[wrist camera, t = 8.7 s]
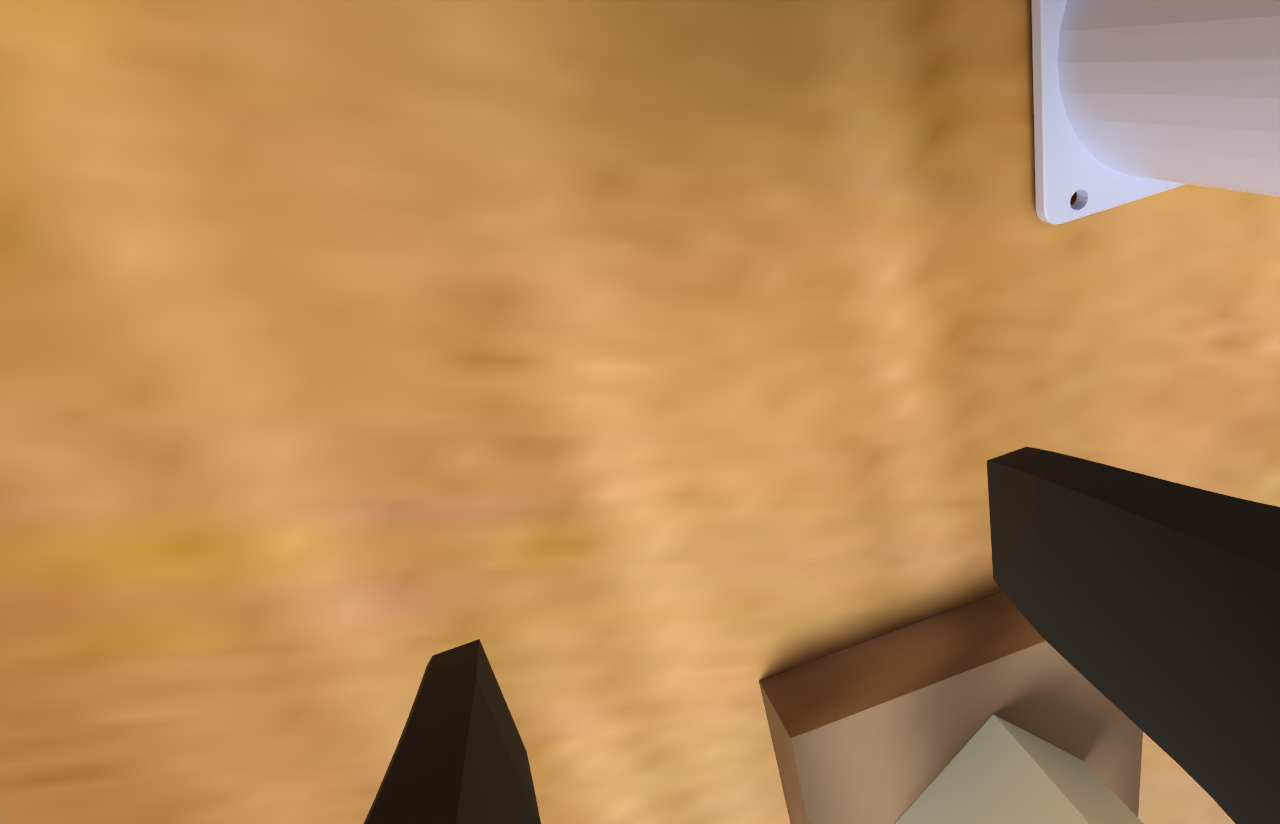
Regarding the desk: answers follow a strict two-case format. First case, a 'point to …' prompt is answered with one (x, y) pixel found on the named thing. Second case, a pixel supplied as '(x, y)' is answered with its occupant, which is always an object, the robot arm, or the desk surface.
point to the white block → (1016, 785)
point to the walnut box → (933, 713)
